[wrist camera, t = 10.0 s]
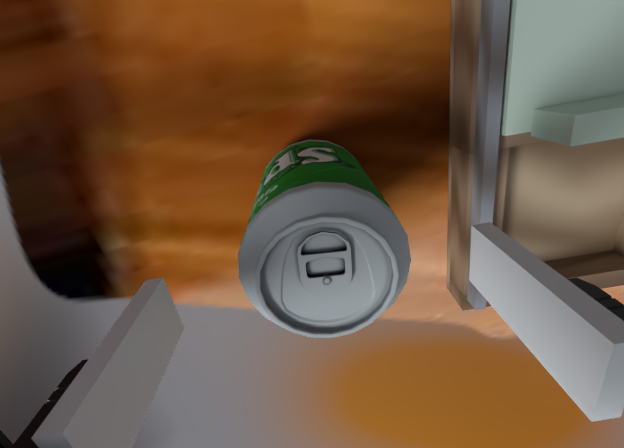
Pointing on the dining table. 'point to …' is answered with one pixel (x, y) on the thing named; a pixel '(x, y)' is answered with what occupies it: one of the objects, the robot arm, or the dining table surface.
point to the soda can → (321, 244)
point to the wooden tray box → (522, 171)
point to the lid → (564, 71)
